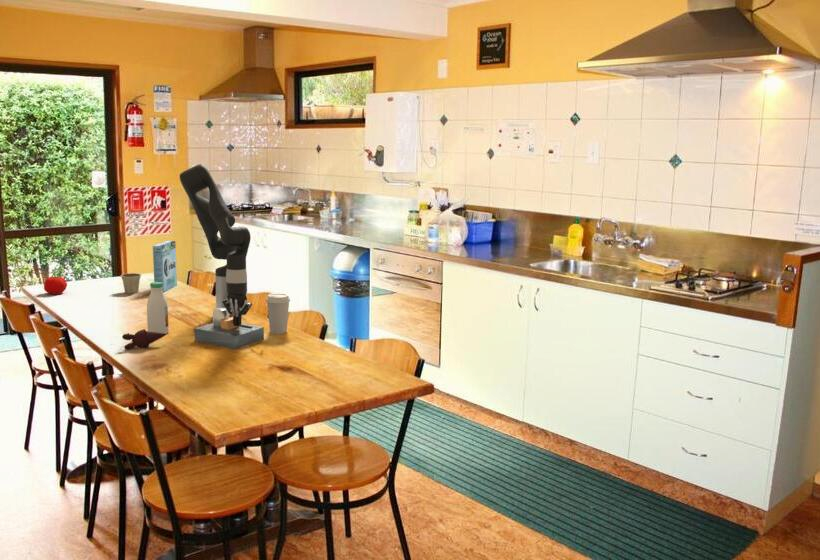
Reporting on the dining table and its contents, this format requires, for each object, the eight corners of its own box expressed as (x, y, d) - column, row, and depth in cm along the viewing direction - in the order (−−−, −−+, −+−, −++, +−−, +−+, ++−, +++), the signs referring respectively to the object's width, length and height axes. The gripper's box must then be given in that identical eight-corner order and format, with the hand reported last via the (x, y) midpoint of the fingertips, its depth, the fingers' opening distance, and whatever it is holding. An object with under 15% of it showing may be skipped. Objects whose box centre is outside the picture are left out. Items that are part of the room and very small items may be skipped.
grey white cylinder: (221, 334, 290) (220, 307, 287) (232, 337, 287) (232, 309, 285) (210, 338, 284) (209, 310, 282) (222, 340, 282) (221, 312, 279)
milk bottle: (162, 336, 287) (160, 285, 283) (143, 334, 289) (141, 283, 285) (172, 331, 295) (170, 281, 291) (154, 329, 296) (152, 280, 292)
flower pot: (137, 294, 359) (137, 277, 358) (118, 294, 359) (117, 276, 358) (144, 290, 368) (144, 273, 367) (125, 290, 369) (125, 273, 367)
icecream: (161, 325, 278) (119, 333, 271) (166, 324, 272) (123, 332, 264) (165, 343, 279) (123, 352, 271) (169, 343, 272) (127, 352, 264)
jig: (224, 332, 295) (223, 318, 294) (263, 339, 286) (263, 325, 285) (194, 341, 281) (194, 326, 280) (235, 349, 272) (235, 334, 271)
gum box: (163, 292, 366) (162, 246, 362) (153, 292, 366) (151, 245, 362) (177, 285, 385) (176, 240, 381) (167, 284, 385) (166, 240, 381)
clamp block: (233, 325, 286) (233, 316, 286) (239, 326, 285) (239, 317, 284) (220, 329, 280) (220, 320, 280) (226, 330, 279) (226, 321, 278)
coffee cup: (261, 331, 297) (260, 295, 295) (280, 328, 304) (280, 291, 302) (275, 336, 291) (275, 299, 288) (295, 332, 298) (295, 295, 295)
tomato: (40, 293, 355) (39, 276, 354) (60, 290, 363) (59, 273, 362) (51, 296, 350) (50, 278, 348) (71, 293, 358) (70, 276, 357)
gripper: (216, 280, 277) (217, 325, 280) (243, 284, 271) (244, 330, 274) (229, 277, 284) (230, 321, 287) (257, 281, 278) (257, 326, 281)
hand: (237, 325), depth 281 cm, fingers closed
